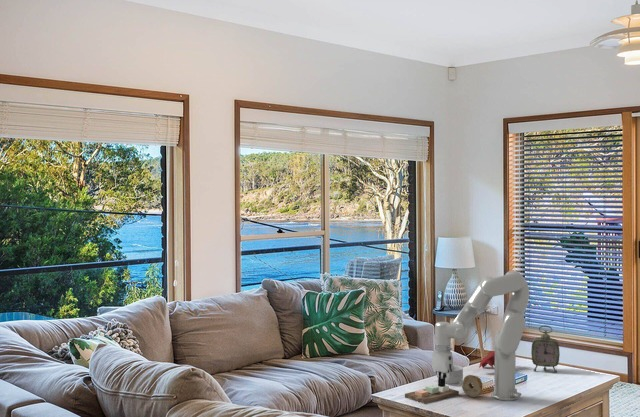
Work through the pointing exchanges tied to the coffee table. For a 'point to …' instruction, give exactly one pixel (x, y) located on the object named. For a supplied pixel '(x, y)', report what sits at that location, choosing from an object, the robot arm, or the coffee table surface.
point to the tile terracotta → (421, 393)
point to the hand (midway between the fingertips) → (441, 386)
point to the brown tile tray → (432, 396)
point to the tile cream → (443, 388)
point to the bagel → (469, 388)
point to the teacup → (455, 375)
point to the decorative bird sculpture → (488, 360)
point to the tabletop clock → (545, 351)
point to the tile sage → (432, 389)
